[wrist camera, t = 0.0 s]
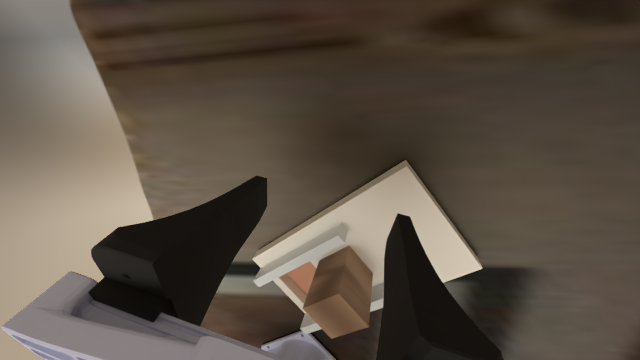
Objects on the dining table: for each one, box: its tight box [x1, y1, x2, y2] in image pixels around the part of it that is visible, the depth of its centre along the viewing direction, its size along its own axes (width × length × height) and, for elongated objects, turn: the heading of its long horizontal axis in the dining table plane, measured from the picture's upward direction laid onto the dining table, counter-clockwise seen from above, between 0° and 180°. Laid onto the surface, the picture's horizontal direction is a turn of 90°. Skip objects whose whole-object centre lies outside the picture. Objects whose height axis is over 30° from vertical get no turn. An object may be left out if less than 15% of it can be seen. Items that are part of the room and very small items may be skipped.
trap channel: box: [253, 160, 483, 334], centre depth 26 cm, size 20×12×4 cm, turn 131°
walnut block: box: [303, 246, 373, 339], centre depth 24 cm, size 4×4×6 cm
